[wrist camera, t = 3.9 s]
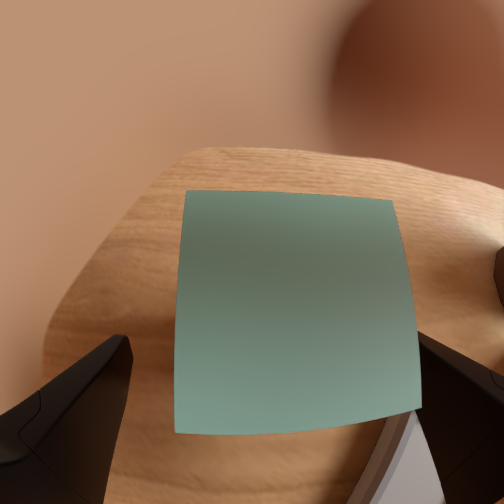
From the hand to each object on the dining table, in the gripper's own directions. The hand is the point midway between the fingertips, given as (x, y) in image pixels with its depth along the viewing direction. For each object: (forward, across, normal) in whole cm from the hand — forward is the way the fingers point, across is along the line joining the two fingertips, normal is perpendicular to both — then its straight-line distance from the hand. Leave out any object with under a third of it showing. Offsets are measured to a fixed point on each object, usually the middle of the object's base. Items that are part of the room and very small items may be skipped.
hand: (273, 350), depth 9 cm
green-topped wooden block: (+6, 0, +6) cm, 8 cm away
